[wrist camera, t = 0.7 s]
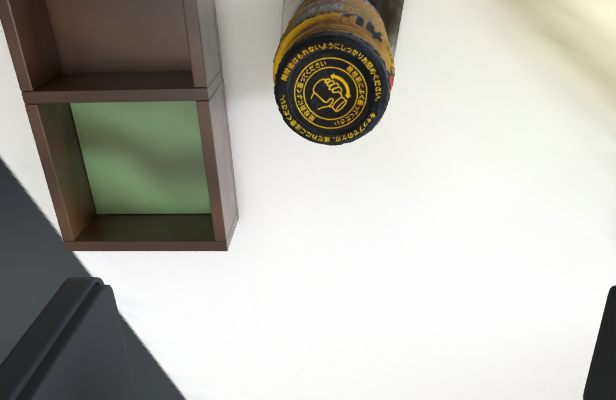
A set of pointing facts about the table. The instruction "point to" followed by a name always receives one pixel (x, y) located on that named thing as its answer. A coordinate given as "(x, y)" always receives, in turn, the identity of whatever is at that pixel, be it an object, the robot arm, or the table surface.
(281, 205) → the table surface
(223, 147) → the holder
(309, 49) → the condiment
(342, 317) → the table surface
